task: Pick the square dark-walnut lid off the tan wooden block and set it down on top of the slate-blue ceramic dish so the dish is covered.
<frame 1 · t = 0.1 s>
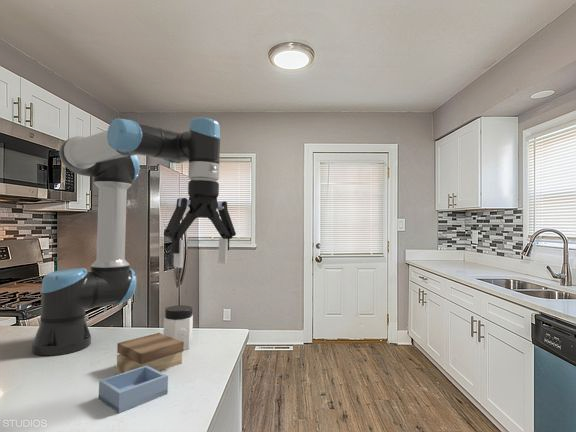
hand: (201, 265, 89), 28 cm above the counter, fingers open, 13 cm apart
tan wooden block: (150, 367, 94), on the counter
dish: (133, 396, 78), on the counter
jar: (177, 347, 110), on the counter
lid: (150, 351, 94), point 4 cm above the counter, touching tan wooden block
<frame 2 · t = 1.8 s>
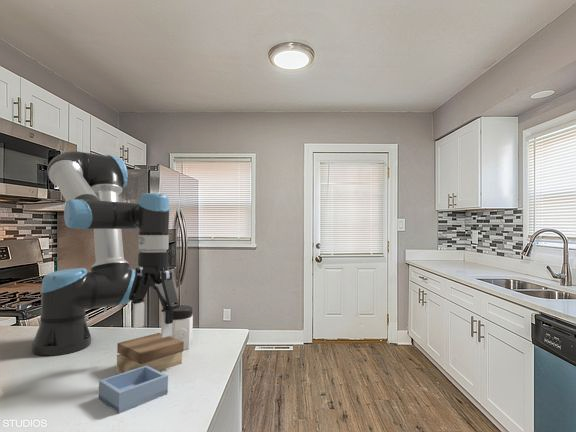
hand: (151, 331, 94), 9 cm above the counter, fingers open, 13 cm apart
nothing on the counter moved.
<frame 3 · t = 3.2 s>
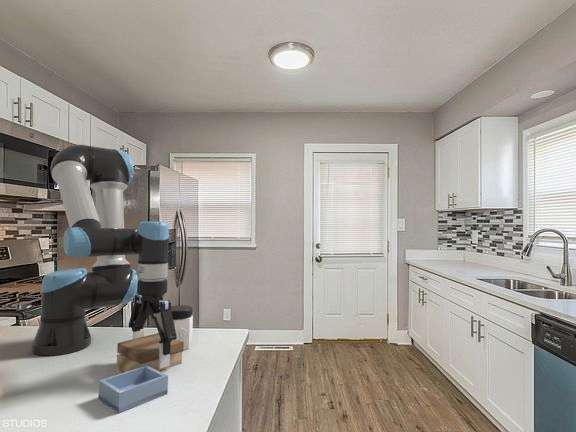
hand: (150, 360, 94), 2 cm above the counter, fingers closed on lid, 12 cm apart
lid: (150, 351, 94), point 4 cm above the counter, touching gripper, tan wooden block
everything else where it was.
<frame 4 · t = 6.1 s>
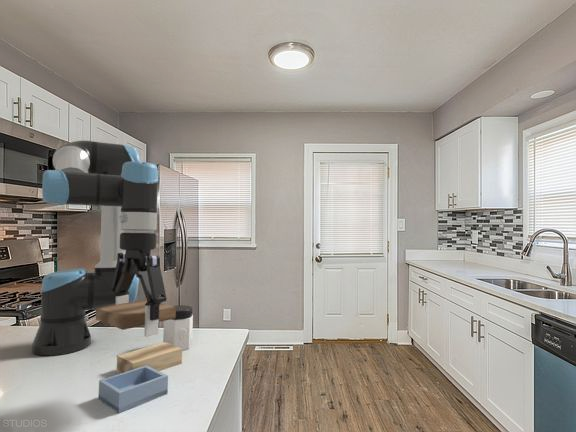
hand: (135, 329, 78), 15 cm above the counter, fingers closed on lid, 12 cm apart
lid: (136, 318, 78), point 17 cm above the counter, touching gripper
everything else where it was.
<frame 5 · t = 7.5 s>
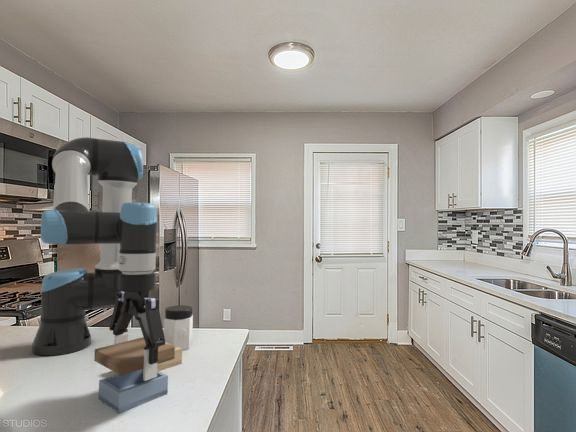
hand: (134, 370, 78), 6 cm above the counter, fingers closed on lid, 12 cm apart
lid: (134, 359, 78), point 8 cm above the counter, touching gripper
everything else where it was.
when the fingers open (4 cm above the counter, at t = 8.9 s): lid drops 2 cm, resting on dish.
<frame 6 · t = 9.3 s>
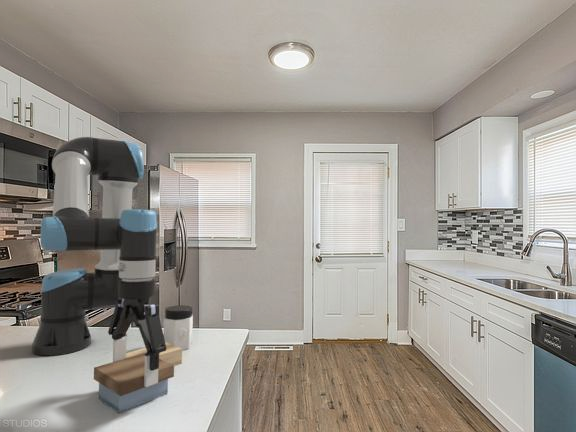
hand: (134, 375, 78), 4 cm above the counter, fingers open, 13 cm apart
lid: (134, 377, 78), point 4 cm above the counter, touching dish
everything else where it was.
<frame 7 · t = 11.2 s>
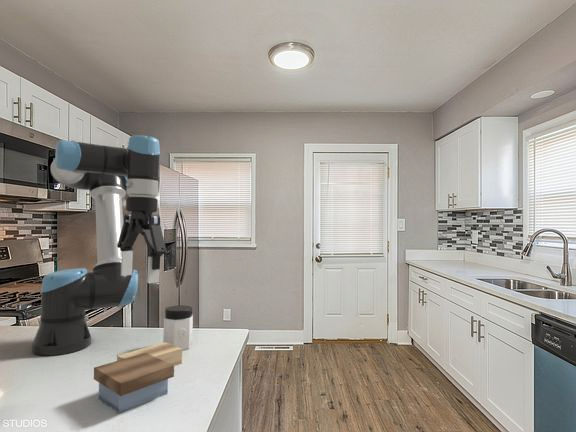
hand: (139, 278, 92), 24 cm above the counter, fingers open, 13 cm apart
nothing on the counter moved.
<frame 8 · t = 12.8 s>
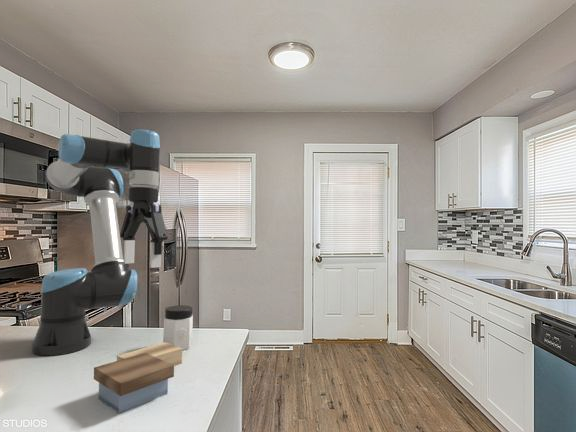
hand: (141, 265, 97), 27 cm above the counter, fingers open, 13 cm apart
nothing on the counter moved.
at the end: lid 0.0 cm off-centre on the dish, point 4.0 cm above the dish's base; lid tilted 0°; the gripper is holding nothing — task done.
